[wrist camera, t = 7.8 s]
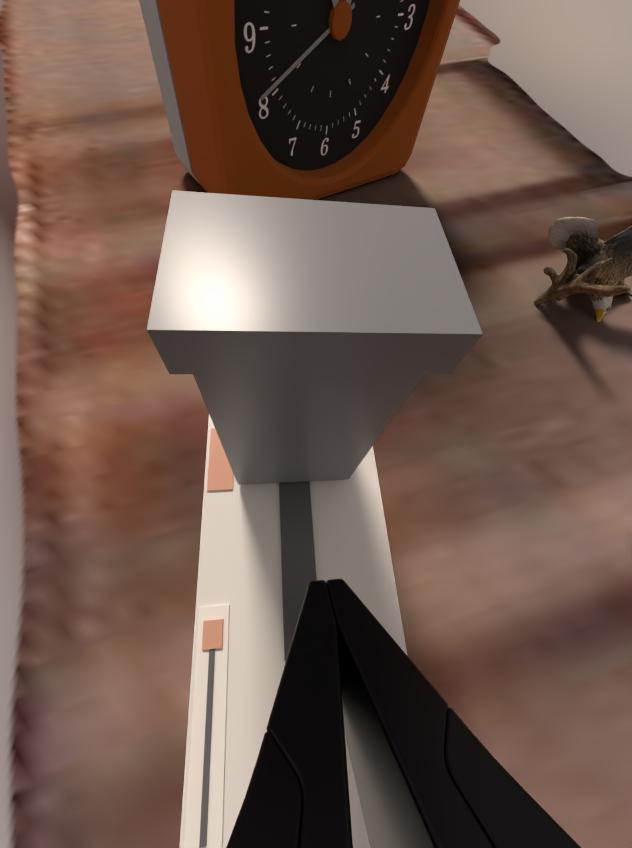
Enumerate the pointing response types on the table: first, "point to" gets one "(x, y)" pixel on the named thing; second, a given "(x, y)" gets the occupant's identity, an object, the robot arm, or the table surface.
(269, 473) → the switch knob
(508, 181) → the table surface
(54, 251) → the table surface
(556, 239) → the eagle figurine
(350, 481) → the switch unit
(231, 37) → the alarm clock
